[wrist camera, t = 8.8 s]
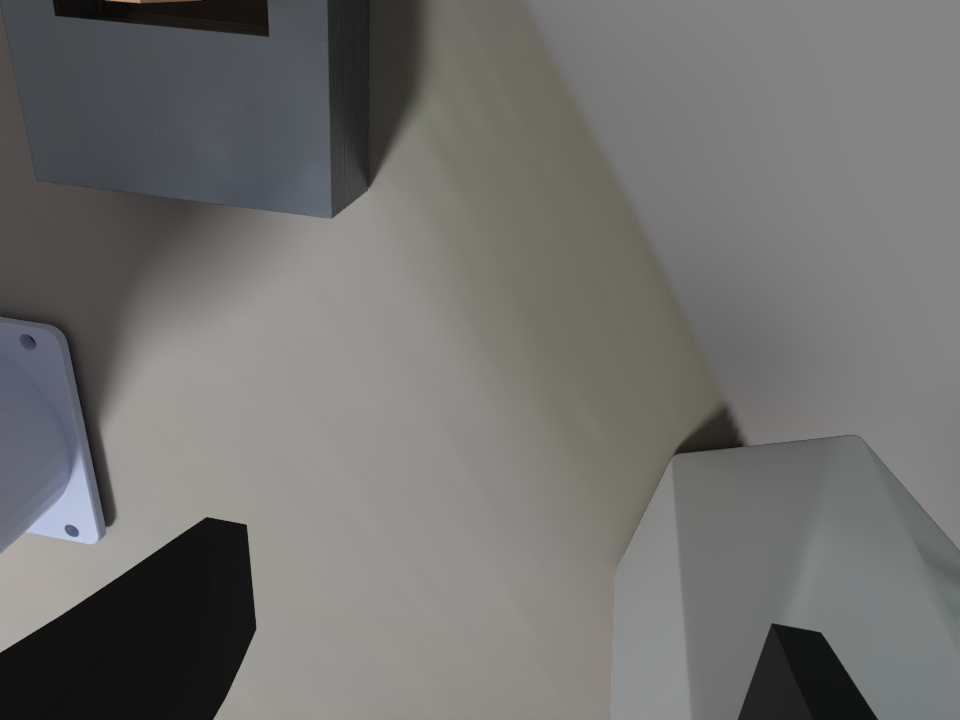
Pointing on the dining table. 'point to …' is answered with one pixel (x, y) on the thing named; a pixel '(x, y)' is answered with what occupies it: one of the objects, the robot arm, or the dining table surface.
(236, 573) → the robot arm
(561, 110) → the dining table surface
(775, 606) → the jar
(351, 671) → the dining table surface
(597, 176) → the dining table surface
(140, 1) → the tan block
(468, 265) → the dining table surface
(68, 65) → the grey slotted tray
